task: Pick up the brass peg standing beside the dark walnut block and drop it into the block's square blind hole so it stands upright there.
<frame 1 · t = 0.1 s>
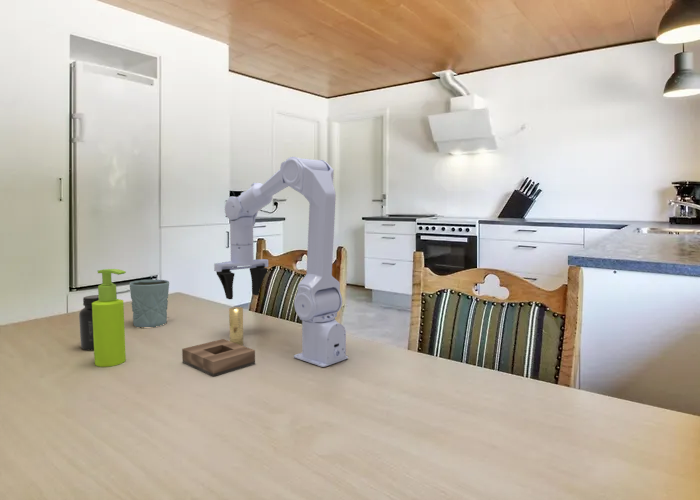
hand: (242, 296, 118), 10 cm above the table, fingers open, 7 cm apart
supplement bottle: (97, 347, 108), on the table
soap dispenser: (112, 363, 98), on the table
walnut block: (218, 363, 98), on the table
brass peg: (236, 345, 110), on the table
grey-green plant pot: (151, 324, 129), on the table
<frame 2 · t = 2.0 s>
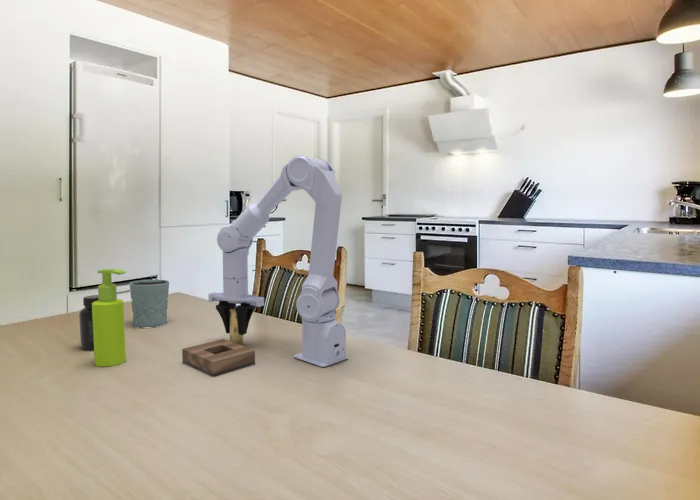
hand: (236, 333, 110), 3 cm above the table, fingers closed on brass peg, 3 cm apart
brass peg: (236, 345, 110), on the table, touching gripper
everything else where it was.
when the fingers open (5 cm above the table, at t = 6.1 s): brass peg drops 1 cm, resting on walnut block.
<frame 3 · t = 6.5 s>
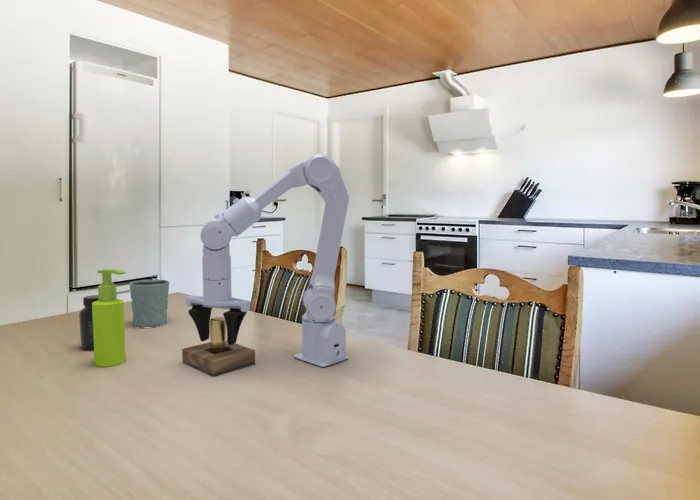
hand: (218, 341, 97), 5 cm above the table, fingers open, 6 cm apart
brass peg: (218, 360, 97), point 1 cm above the table, touching walnut block
everything else where it was.
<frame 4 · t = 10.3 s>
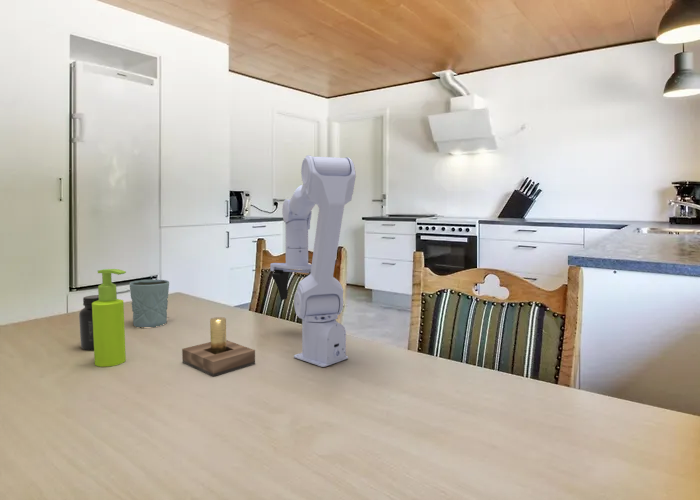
hand: (297, 300, 117), 9 cm above the table, fingers open, 7 cm apart
nothing on the table moved.
at the end: brass peg 0.0 cm off-centre on the walnut block, point 0.6 cm above the walnut block's base; brass peg tilted 0°; the gripper is holding nothing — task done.
